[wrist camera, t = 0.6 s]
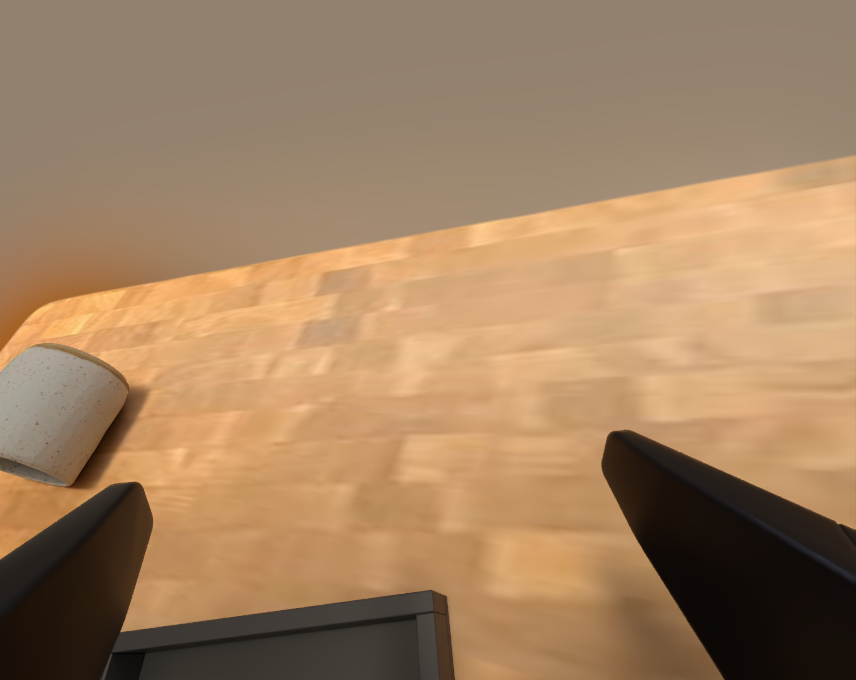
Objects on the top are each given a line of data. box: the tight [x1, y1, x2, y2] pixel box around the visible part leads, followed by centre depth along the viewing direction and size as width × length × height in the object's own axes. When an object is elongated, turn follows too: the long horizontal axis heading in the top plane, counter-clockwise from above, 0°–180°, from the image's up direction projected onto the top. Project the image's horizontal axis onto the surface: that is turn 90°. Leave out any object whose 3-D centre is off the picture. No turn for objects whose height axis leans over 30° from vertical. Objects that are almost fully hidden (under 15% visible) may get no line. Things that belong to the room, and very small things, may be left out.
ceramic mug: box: [0, 343, 129, 487], centre depth 30 cm, size 11×8×8 cm
